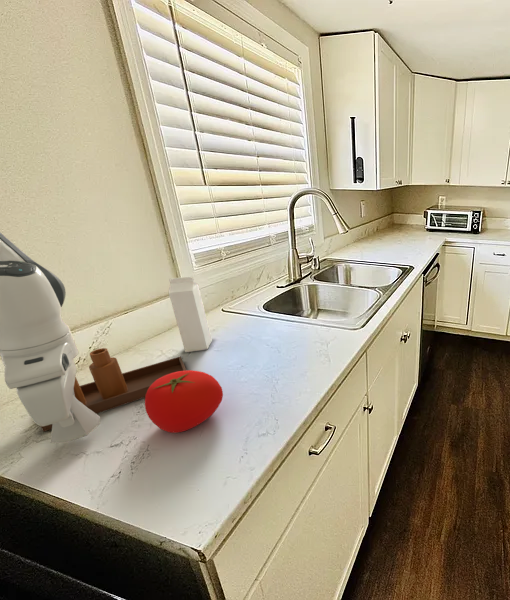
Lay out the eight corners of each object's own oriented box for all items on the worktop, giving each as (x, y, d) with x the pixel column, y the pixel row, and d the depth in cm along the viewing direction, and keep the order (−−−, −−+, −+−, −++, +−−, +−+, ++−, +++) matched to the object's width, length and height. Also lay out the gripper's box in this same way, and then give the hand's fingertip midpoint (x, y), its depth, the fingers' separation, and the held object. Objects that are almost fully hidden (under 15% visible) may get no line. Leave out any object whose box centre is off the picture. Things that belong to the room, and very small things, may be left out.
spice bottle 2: (102, 404, 74) (83, 359, 70) (102, 394, 78) (84, 350, 74) (129, 396, 77) (112, 352, 73) (128, 386, 81) (112, 344, 76)
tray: (43, 431, 67) (38, 422, 66) (50, 404, 75) (46, 395, 74) (190, 382, 82) (187, 373, 81) (183, 363, 90) (180, 356, 89)
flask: (63, 422, 66) (44, 380, 62) (107, 413, 68) (91, 373, 64) (41, 448, 59) (18, 404, 56) (91, 438, 62) (72, 395, 58)
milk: (207, 349, 98) (189, 279, 90) (184, 352, 96) (164, 281, 88) (212, 340, 103) (196, 273, 95) (190, 342, 102) (172, 275, 93)
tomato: (181, 400, 75) (168, 358, 71) (237, 404, 74) (226, 361, 70) (135, 441, 64) (116, 393, 60) (200, 447, 63) (185, 398, 58)
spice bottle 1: (56, 419, 70) (33, 372, 66) (59, 408, 74) (37, 362, 69) (86, 410, 73) (66, 364, 68) (87, 399, 76) (68, 354, 72)
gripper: (26, 336, 63) (53, 395, 68) (1, 386, 48) (38, 456, 53) (71, 327, 67) (93, 383, 72) (60, 371, 52) (89, 438, 57)
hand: (70, 415), depth 62 cm, fingers closed on flask, 5 cm apart
